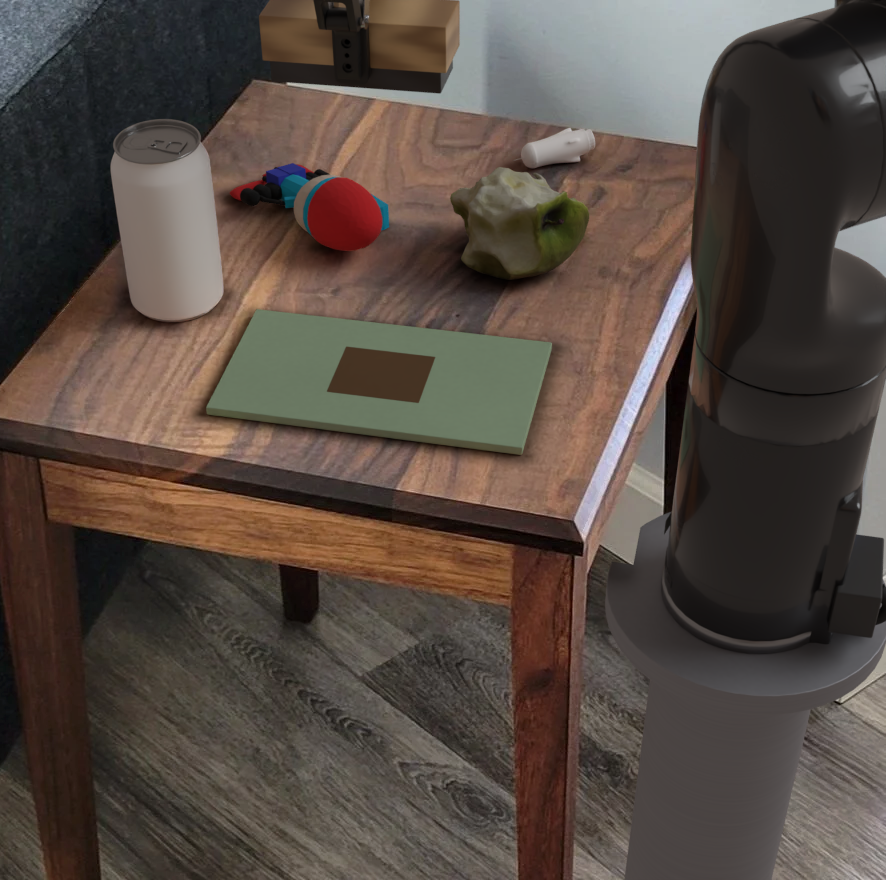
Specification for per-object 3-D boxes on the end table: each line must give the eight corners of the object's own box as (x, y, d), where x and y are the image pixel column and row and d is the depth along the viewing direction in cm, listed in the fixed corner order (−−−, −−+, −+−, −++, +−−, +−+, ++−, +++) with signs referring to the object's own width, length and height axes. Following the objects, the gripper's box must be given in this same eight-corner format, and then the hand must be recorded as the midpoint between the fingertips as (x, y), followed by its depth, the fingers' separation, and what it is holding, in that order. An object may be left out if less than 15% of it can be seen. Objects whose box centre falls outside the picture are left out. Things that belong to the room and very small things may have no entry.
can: (154, 266, 115) (131, 110, 107) (238, 279, 114) (222, 122, 105) (115, 317, 111) (89, 158, 103) (203, 331, 109) (183, 171, 101)
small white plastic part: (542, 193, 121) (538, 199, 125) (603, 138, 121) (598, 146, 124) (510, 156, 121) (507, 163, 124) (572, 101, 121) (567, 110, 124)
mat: (551, 349, 106) (552, 341, 105) (522, 455, 98) (522, 447, 98) (256, 316, 110) (256, 308, 110) (206, 414, 103) (205, 406, 102)
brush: (459, 67, 105) (459, 0, 102) (446, 96, 103) (446, 27, 99) (282, 55, 108) (276, -11, 105) (264, 82, 105) (258, 15, 102)
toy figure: (223, 218, 122) (330, 276, 111) (215, 154, 120) (325, 207, 109) (308, 194, 126) (421, 248, 115) (303, 131, 123) (418, 180, 112)
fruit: (594, 303, 112) (593, 215, 105) (458, 315, 113) (448, 229, 106) (584, 210, 117) (582, 121, 111) (454, 223, 118) (444, 135, 112)
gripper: (383, -173, 87) (392, 122, 99) (441, -255, 98) (443, 22, 109) (249, -178, 89) (274, 113, 101) (320, -257, 99) (335, 15, 111)
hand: (362, 64), depth 105 cm, fingers closed on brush, 4 cm apart
